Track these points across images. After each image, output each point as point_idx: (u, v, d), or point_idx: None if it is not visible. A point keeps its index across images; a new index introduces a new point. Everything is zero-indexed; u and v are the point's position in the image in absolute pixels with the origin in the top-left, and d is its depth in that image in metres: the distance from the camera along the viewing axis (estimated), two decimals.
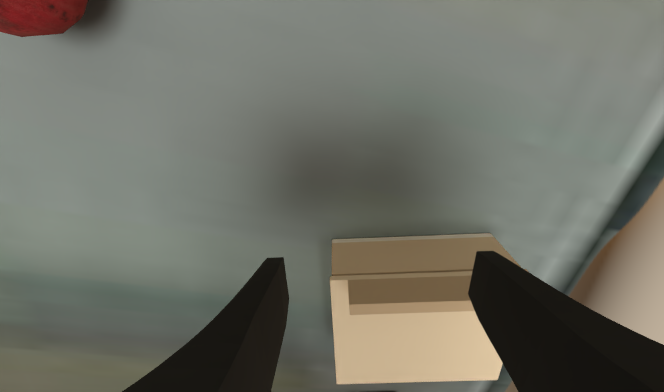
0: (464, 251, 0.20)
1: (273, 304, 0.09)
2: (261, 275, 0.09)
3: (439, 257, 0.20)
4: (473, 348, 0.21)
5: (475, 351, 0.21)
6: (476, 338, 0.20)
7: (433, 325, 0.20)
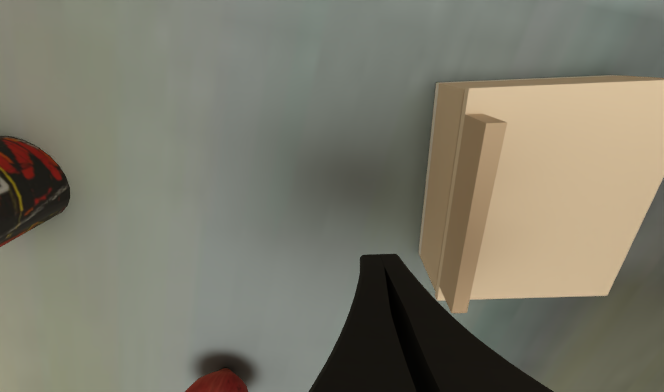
0: (442, 139, 0.16)
1: None
2: (371, 272, 0.09)
3: (442, 175, 0.16)
4: (605, 136, 0.13)
5: (613, 132, 0.13)
6: (584, 135, 0.13)
7: (535, 197, 0.15)
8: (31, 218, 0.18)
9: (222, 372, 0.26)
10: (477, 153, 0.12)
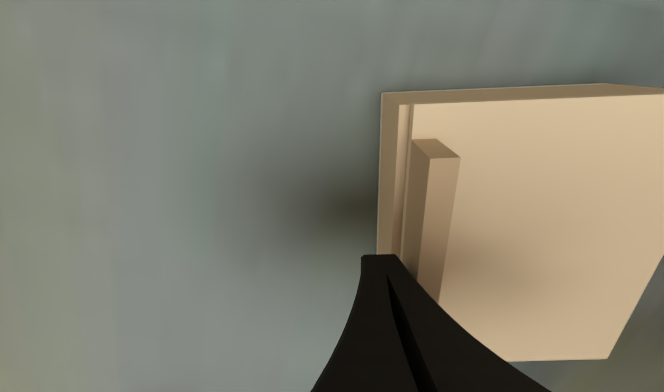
0: (386, 166, 0.13)
1: None
2: (372, 272, 0.09)
3: (387, 211, 0.13)
4: (604, 168, 0.10)
5: (615, 163, 0.10)
6: (575, 167, 0.10)
7: (512, 245, 0.11)
8: None
9: None
10: (422, 197, 0.09)
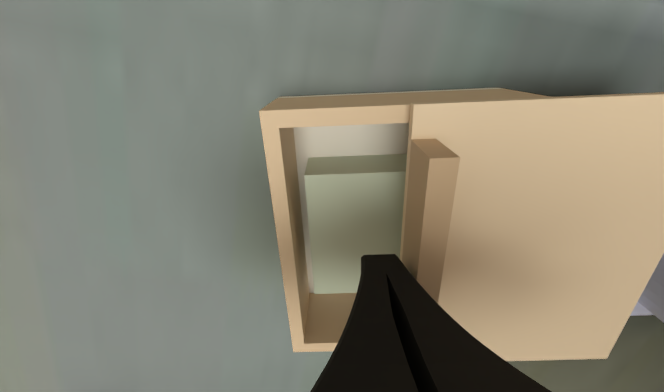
0: None
1: None
2: (372, 272, 0.09)
3: None
4: (603, 168, 0.10)
5: (615, 163, 0.10)
6: (575, 167, 0.10)
7: (511, 245, 0.11)
8: None
9: None
10: (422, 197, 0.09)
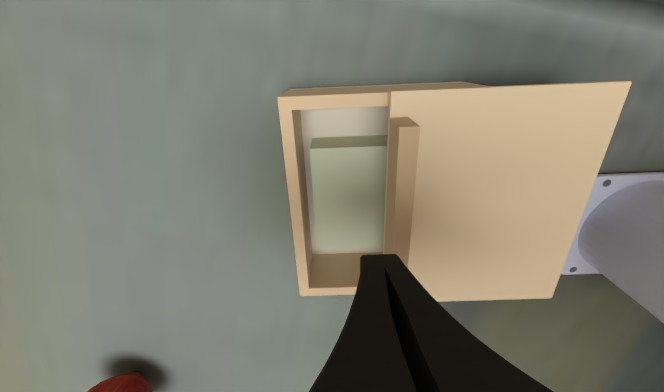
0: None
1: None
2: (371, 272, 0.09)
3: None
4: (532, 139, 0.13)
5: (540, 135, 0.13)
6: (511, 138, 0.13)
7: (469, 200, 0.15)
8: None
9: (125, 376, 0.26)
10: (396, 156, 0.12)
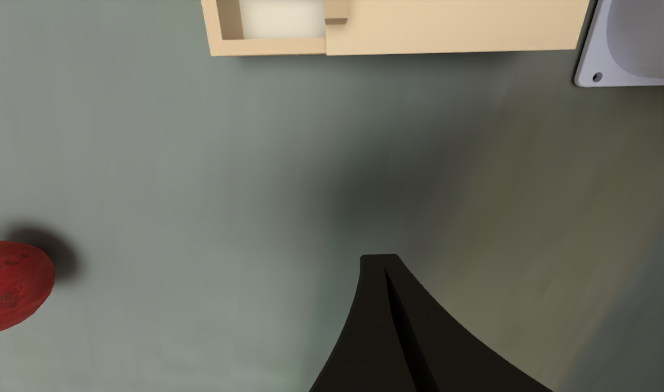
0: None
1: None
2: (371, 272, 0.09)
3: None
4: None
5: None
6: None
7: None
8: None
9: (15, 242, 0.20)
10: None
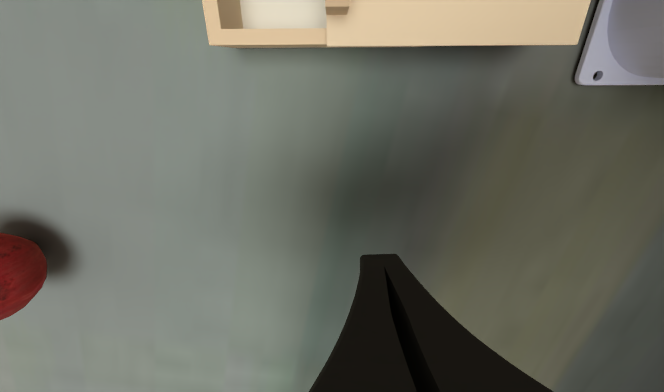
0: None
1: None
2: (371, 272, 0.09)
3: None
4: None
5: None
6: None
7: None
8: None
9: (7, 234, 0.20)
10: None
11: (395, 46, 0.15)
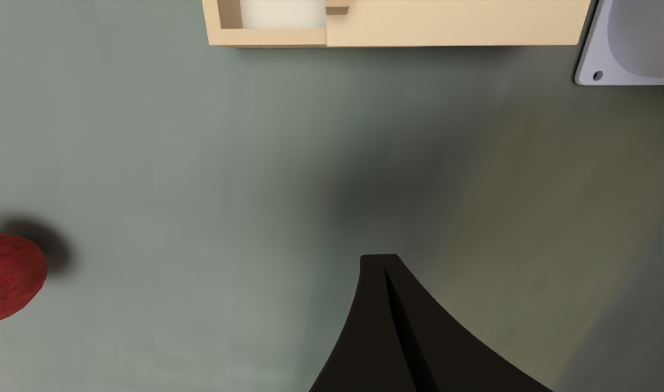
0: None
1: None
2: (371, 272, 0.09)
3: None
4: None
5: None
6: None
7: None
8: None
9: (7, 234, 0.20)
10: None
11: (395, 46, 0.15)
